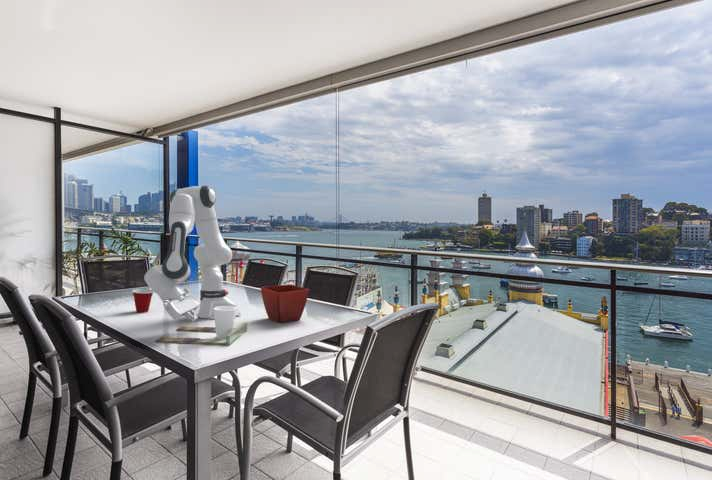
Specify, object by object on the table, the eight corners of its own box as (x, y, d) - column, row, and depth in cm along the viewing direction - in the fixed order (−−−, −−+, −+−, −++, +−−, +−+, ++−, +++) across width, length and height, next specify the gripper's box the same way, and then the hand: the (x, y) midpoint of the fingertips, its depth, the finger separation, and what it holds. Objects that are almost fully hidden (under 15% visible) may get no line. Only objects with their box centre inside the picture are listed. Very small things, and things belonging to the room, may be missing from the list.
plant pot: (277, 325, 188) (277, 292, 187) (259, 318, 202) (260, 286, 201) (308, 320, 200) (309, 289, 200) (290, 313, 215) (290, 284, 214)
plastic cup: (147, 314, 202) (147, 292, 202) (127, 313, 202) (127, 291, 202) (157, 309, 213) (158, 288, 212) (139, 309, 213) (139, 288, 213)
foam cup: (218, 334, 170) (219, 305, 170) (238, 334, 170) (239, 306, 169) (209, 340, 161) (209, 310, 160) (230, 341, 160) (231, 311, 160)
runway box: (154, 342, 156) (155, 332, 155) (181, 328, 178) (181, 319, 177) (229, 345, 155) (230, 335, 154) (247, 330, 177) (247, 322, 176)
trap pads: (181, 341, 155) (181, 340, 155) (204, 327, 177) (204, 326, 177) (195, 341, 155) (195, 341, 155) (216, 327, 177) (216, 327, 177)
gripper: (166, 296, 156) (189, 320, 156) (189, 288, 176) (210, 310, 176) (155, 307, 156) (178, 331, 156) (180, 297, 176) (200, 319, 176)
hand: (195, 319), depth 166 cm, fingers closed
